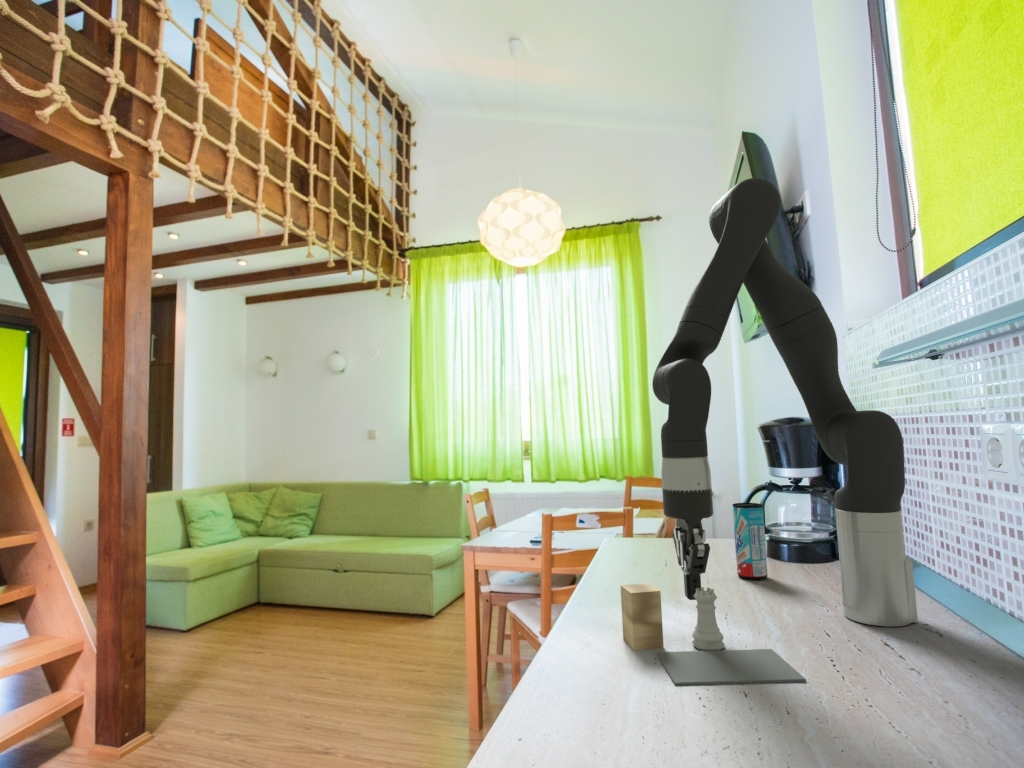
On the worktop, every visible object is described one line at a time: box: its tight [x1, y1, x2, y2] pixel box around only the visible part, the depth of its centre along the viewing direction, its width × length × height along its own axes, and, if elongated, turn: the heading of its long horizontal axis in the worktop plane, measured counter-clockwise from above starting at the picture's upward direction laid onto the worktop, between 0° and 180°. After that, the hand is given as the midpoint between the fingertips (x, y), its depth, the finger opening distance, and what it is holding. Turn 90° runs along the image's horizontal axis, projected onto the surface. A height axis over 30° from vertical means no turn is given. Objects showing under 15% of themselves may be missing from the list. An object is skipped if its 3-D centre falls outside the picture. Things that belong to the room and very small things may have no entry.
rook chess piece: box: [691, 586, 725, 651], centre depth 84 cm, size 4×4×8 cm
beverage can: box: [732, 502, 769, 581], centre depth 122 cm, size 6×6×15 cm
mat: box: [656, 648, 807, 686], centre depth 76 cm, size 16×10×1 cm, turn 89°
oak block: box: [620, 582, 665, 651], centre depth 86 cm, size 4×4×8 cm
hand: (693, 598), depth 90 cm, fingers closed
